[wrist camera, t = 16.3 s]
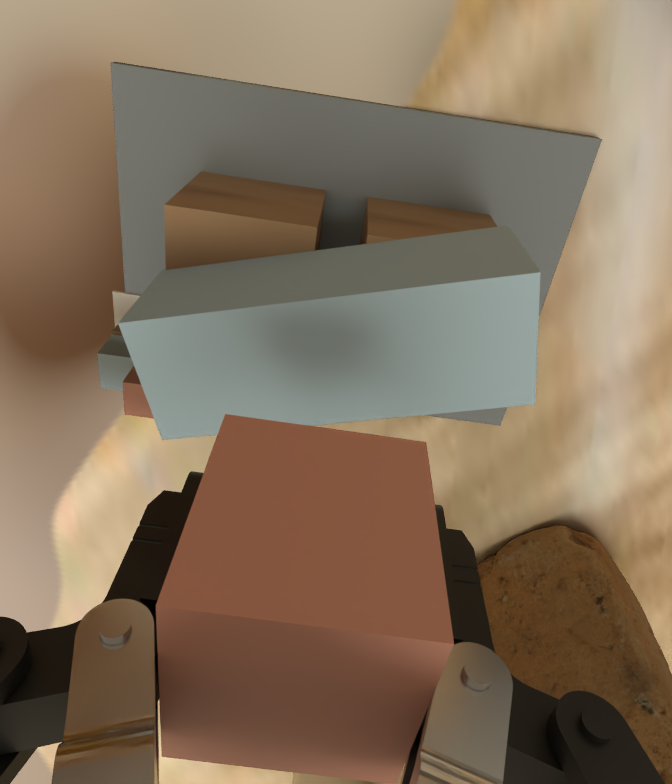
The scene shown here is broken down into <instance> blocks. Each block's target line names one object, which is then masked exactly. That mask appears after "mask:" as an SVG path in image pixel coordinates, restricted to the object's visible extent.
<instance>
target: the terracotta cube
mask: <svg viewBox="0 0 672 784" xmlns="http://www.w3.org/2000/svg"><path fill="white" fill-rule="evenodd" d="M156 626H157V650H158V674H159V698H160V723H161V747H162V757H169V758H177V759H186V760H194V761H203V762H211V763H219V764H228V765H236V766H245V767H253V768H261V769H270V770H278V771H286V772H295V773H303V774H312V775H320V776H328V777H337V778H345V779H354V780H362V781H370V782H379V783H387V784H396V783H397V781H398V779H399V776H400V774H401V771H402V769H403V766H404V764H405V762H406V759H407V756H408V754H409V751H410V749H411V747H412V745H413V742H414V740H415V737H416V735H417V733H418V730H419V728H420V725H421V723H422V721H423V718H424V716H425V713H426V711H427V708H428V706H429V702H430V699H431V697H432V695H433V692H434V690H435V687H437V684H438V682H439V680H440V677H441V675H442V672H443V670H444V667H445V665H446V663H447V660H448V658H449V655H450V653H451V651H452V648H453V646H454V640H453V632H452V625H451V618H450V611H449V603H448V596H447V589H446V582H445V575H444V567H443V560H442V553H441V546H440V539H439V531H438V524H437V517H436V510H435V503H434V495H433V488H432V481H431V474H430V467H429V459H428V452H427V445H426V442H421V441H413V440H406V439H399V438H392V437H385V436H378V435H371V434H364V433H357V432H350V431H343V430H336V429H329V428H322V427H314V426H307V425H300V424H293V423H286V422H279V421H272V420H265V419H258V418H251V417H244V416H237V415H230V414H225V416H224V419H223V421H222V424H221V427H220V430H219V432H218V435H217V438H216V441H215V443H214V446H213V449H212V452H211V454H210V457H209V460H208V463H207V465H206V468H205V471H204V474H203V476H202V479H201V482H200V485H199V488H198V490H197V493H196V496H195V499H194V501H193V504H192V507H191V510H190V512H189V515H188V518H187V521H186V523H185V526H184V529H183V532H182V534H181V537H180V540H179V543H178V545H177V548H176V551H175V554H174V557H173V559H172V562H171V565H170V568H169V570H168V573H167V576H166V579H165V581H164V584H163V587H162V590H161V592H160V595H159V598H158V601H157V603H156Z"/></svg>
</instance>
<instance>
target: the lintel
mask: <svg viewBox="0 0 672 784" xmlns="http://www.w3.org/2000/svg"><path fill="white" fill-rule="evenodd" d="M539 297H540V271H539V269H538V268H537V267H536V265H535V264H534V262H533V261H532V259H531V258H530V257H529V255H528V254H527V252H526V251H525V249H524V248H523V247H522V245H521V244H520V242H519V241H518V239H517V238H516V237H515V235H514V234H513V232H512V231H511V229H510V228H509V227H508V225H507V226H500V227H492V228H484V229H477V230H469V231H461V232H454V233H446V234H438V235H431V236H423V237H415V238H408V239H400V240H392V241H385V242H377V243H369V244H362V245H354V246H346V247H339V248H331V249H323V250H316V251H308V252H300V253H293V254H285V255H277V256H270V257H262V258H254V259H247V260H239V261H231V262H224V263H216V264H209V265H201V266H193V267H186V268H178V269H170V270H163V271H161V272H160V273H159V274H158V275H157V277H156V278H155V279H154V280H153V281H152V283H151V284H150V285H149V286H148V288H147V289H146V290H145V291H144V292H143V294H142V295H141V296H140V297H139V298H138V300H137V301H136V302H135V303H134V304H133V306H132V307H131V308H130V309H129V311H128V312H127V313H126V314H125V315H124V317H123V318H122V319H121V320H120V321H119V323H118V325H119V327H120V330H121V332H122V335H123V338H124V340H125V343H126V346H127V348H128V351H129V354H130V356H131V359H132V361H133V364H134V367H135V369H136V372H137V375H138V377H139V380H140V383H141V385H142V388H143V390H144V393H145V396H146V398H147V401H148V404H149V406H150V409H151V412H152V414H153V417H154V419H155V422H156V425H157V427H158V430H159V433H160V435H161V438H162V440H168V439H179V438H189V437H200V436H210V435H218V432H219V430H220V427H221V424H222V421H223V419H224V416H225V414H230V415H237V416H244V417H251V418H258V419H265V420H272V421H279V422H286V423H293V424H300V425H307V426H314V425H325V424H335V423H346V422H356V421H367V420H377V419H388V418H398V417H409V416H419V415H429V414H440V413H450V412H461V411H471V410H482V409H492V408H503V407H513V406H523V405H534V404H535V398H536V373H537V347H538V322H539Z"/></svg>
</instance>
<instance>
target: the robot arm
mask: <svg viewBox="0 0 672 784" xmlns="http://www.w3.org/2000/svg"><path fill="white" fill-rule="evenodd" d="M203 474H204V473H199V472H192V471H191V472H190V473H189V475H188V477H187V480H186V482H185V485H184V487H183V490H182V492H181V493H180V492H172V491H165V490H164V491H163V492H162V493H161V494H159V495H158V496H157V497H156V498H155V499H154V500H153V501H152V502H151V503H149V504H148V506H147V508H146V510H145V512H144V514H143V517H142V519H141V521H140V525H139V527H138V528H137V530H136V532H135V534H134V537H133V541H131V543H130V545H129V548H128V550H127V552H126V554H125V556H124V559H123V561H122V563H121V565H120V567H119V570H118V572H117V574H116V576H115V578H114V581H113V583H112V585H111V587H110V589H109V592H108V594H107V596H106V598H105V599H104V601H103V602H102V603H101V604H99V605H97V606H96V607H94V608H93V609H91V610H90V611H89V612H88V613H87V614H86V615H85V616H84V617H83V618H82V620H80V621H78V622H76V623H73V624H70V625H67V626H63V627H58V628H52V629H46V630H40V631H34V632H28V633H26V630H25V629H24V627H23V626H22V625H21V624H20V623H19V622H17V621H16V620H14V619H11V618H7V617H0V784H10V783H11V782H12V780H13V779H14V778H15V776H16V775H17V773H18V772H19V771H20V770H21V768H22V767H23V766H24V764H25V763H26V762H27V761H28V759H29V758H30V757H31V755H32V754H33V753H34V751H35V750H36V749H37V747H41V746H45V745H50V744H54V743H59V742H62V743H61V744H59V745H58V748H57V751H56V755H55V761H54V768H53V776H52V784H159V740H158V700H159V674H158V650H157V626H156V603H157V601H158V598H159V595H160V592H161V590H162V587H163V584H164V581H165V579H166V576H167V573H168V570H169V568H170V565H171V562H172V559H173V557H174V554H175V551H176V548H177V545H178V543H179V540H180V537H181V534H182V532H183V529H184V526H185V523H186V521H187V518H188V515H189V512H190V510H191V507H192V504H193V501H194V499H195V496H196V493H197V490H198V488H199V485H200V482H201V479H202V476H203ZM435 510H436V517H437V524H438V531H439V539H440V546H441V553H442V560H443V567H444V575H445V582H446V589H447V596H448V603H449V611H450V618H451V625H452V632H453V640H454V646H453V648H452V651H451V653H450V655H449V658H448V660H447V663H446V665H445V667H444V670H443V672H442V675H441V677H440V680H439V682H438V684H437V687H435V690H434V692H433V695H432V697H431V699H430V702H429V706H428V708H427V711H426V713H425V716H424V718H423V721H422V723H421V725H420V728H419V730H418V733H417V735H416V737H415V740H414V742H413V745H412V747H411V749H410V751H409V754H408V756H407V759H406V762H405V766H404V770H403V769H402V771H401V774H400V776H399V779H398V781H397V783H396V784H665V782H664V781H663V779H662V778H661V776H660V775H659V773H658V771H657V770H656V768H655V767H654V765H653V763H652V762H651V760H650V759H649V757H648V755H647V754H646V752H645V751H644V749H643V747H642V746H641V744H640V743H639V741H638V739H637V738H636V736H635V735H634V733H633V732H632V730H631V728H630V727H629V725H628V724H627V722H626V720H625V719H624V718H623V716H622V715H621V714H620V713H619V711H618V710H617V709H616V708H615V707H614V706H612V705H611V704H610V703H609V702H607V701H606V700H605V699H603V698H601V697H600V696H598V695H595V694H593V693H590V692H586V691H571V692H568V693H566V694H565V695H563V696H562V697H561V698H560V700H559V699H557V698H555V697H552V696H550V695H548V694H546V693H543V692H541V691H539V690H537V689H534V688H532V687H530V686H528V685H526V684H524V683H522V682H521V681H519V680H518V679H517V678H515V677H514V676H513V675H512V674H511V673H510V671H509V669H508V668H507V666H506V664H505V663H504V662H503V660H502V659H501V658H500V657H499V656H498V655H497V654H496V652H495V649H494V646H493V642H492V637H491V632H490V627H489V622H488V617H487V612H486V607H485V602H484V597H483V592H482V588H481V587H480V585H481V582H480V577H479V572H477V569H478V567H477V562H476V557H475V552H474V548H473V547H472V545H471V544H470V542H469V541H468V539H467V538H466V536H465V535H464V533H463V532H462V531H460V530H453V529H446V524H445V517H444V511H443V507H442V506H440V505H435ZM293 784H387V783H379V782H370V781H362V780H354V779H345V778H337V777H328V776H320V775H312V774H303V773H295V772H294V775H293Z"/></svg>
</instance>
